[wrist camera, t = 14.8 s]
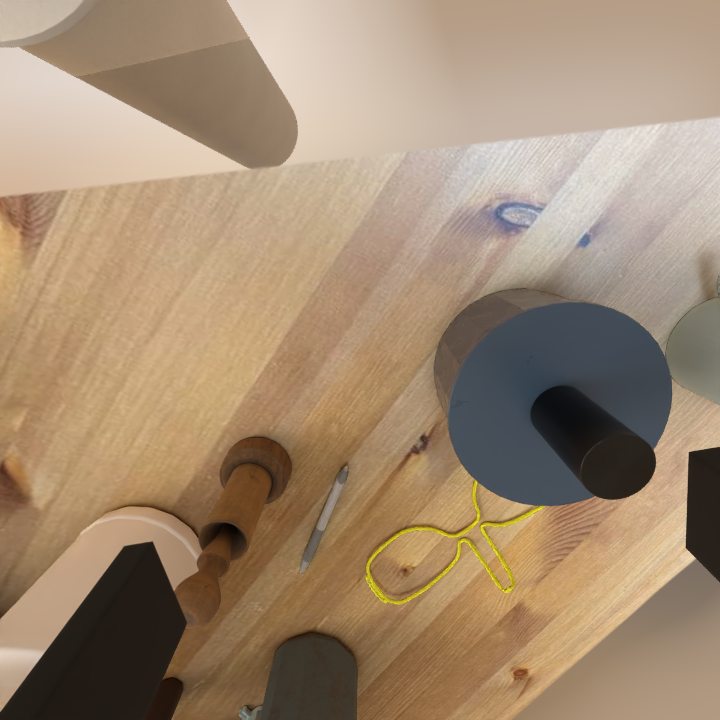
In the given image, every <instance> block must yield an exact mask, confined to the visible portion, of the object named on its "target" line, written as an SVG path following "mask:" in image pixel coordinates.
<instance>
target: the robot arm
mask: <svg viewBox="0 0 720 720" xmlns="http://www.w3.org/2000/svg"><path fill="white" fill-rule="evenodd" d="M686 549H687V550H688V551H689V552H690V553H691V554H692V555H693V556H694V557H695V558H696V559H697V560H698V561H699V562H700V563H702V565H703V566H704V567H705V568H706V569H707V570H708V571H709V572H710V573H711V574H712V575H713V576H714V577H715V578H716V579H717V580H718V581H719V582H720V447H716V448H710V449H704V450H698V451H692V452H689V463H688V494H687V525H686ZM186 625H187V621H186V618H185V616H184V614H183V611H182V609H181V607H180V604H179V602H178V600H177V597H176V595H175V593H174V590H173V588H172V585H171V583H170V581H169V578H168V576H167V574H166V571H165V569H164V567H163V564H162V562H161V560H160V557H159V555H158V553H157V550H156V548H155V545H154V543H153V541H151V542H145V543H139V544H133V545H127V546H124V547H123V548H122V550H121V551H120V552H119V554H118V555H117V556H116V558H115V559H114V560H113V562H112V563H111V564H110V566H109V567H108V568H107V570H106V571H105V572H104V574H103V575H102V576H101V578H100V579H99V580H98V582H97V583H96V584H95V586H94V587H93V588H92V590H91V591H90V592H89V594H88V595H87V596H86V598H85V599H84V600H83V602H82V603H81V604H80V606H79V607H78V608H77V610H76V611H75V613H74V614H73V615H72V617H71V618H70V619H69V621H68V622H67V623H66V625H65V626H64V627H63V629H62V630H61V631H60V633H59V634H58V635H57V637H56V638H55V639H54V641H53V642H52V643H51V645H50V646H49V647H48V649H47V650H46V651H45V653H44V654H43V655H42V657H41V658H40V659H39V661H38V662H37V663H36V665H35V666H34V667H33V669H32V670H31V671H30V673H29V674H28V675H27V677H26V678H25V679H24V681H23V682H22V683H21V685H20V686H19V688H18V689H17V690H16V692H15V693H14V694H13V696H12V697H11V698H10V700H9V701H8V702H7V704H6V705H5V706H4V708H3V709H2V710H1V712H0V720H145V718H146V715H147V713H148V711H149V709H150V706H151V704H152V702H153V700H154V697H155V695H156V693H157V691H158V688H159V686H160V684H161V682H162V679H163V677H164V675H165V673H166V670H167V668H168V666H169V664H170V661H171V659H172V657H173V655H174V652H175V650H176V648H177V645H178V643H179V641H180V639H181V636H182V634H183V632H184V630H185V627H186Z"/></svg>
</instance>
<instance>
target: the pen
mask: <svg viewBox="0 0 720 720" xmlns="http://www.w3.org/2000/svg"><path fill="white" fill-rule="evenodd" d="M347 476H348V467H347V466H345V467H344V469H342V470H341V471H340V472H339V474H338V476H337V478H336V480H335V483H334V485H333V488H332V491H331V493H330V495H329V498H328V500H327V502H326V505H325V507H324V509H323V512H322V514H321V517H320V519H319V521H318V523H317V525H316V527H315V530H314V532H313V534H312V537H311V539H310V541H309V544H308V546H307V548H306V551H305V553H304V555H303V558H302V561H301V565H300V573H303V572H304V571H305V570H306V569H307V567H308V566H309V564H310V562H311V560H312V558H313V556H314V554H315V551H316V549H317V547H318V544H319V542H320V540H321V538H322V535H323V533H324V531H325V528H326V525H327V523H328V520H329V518H330V516H331V514H332V511H333V509H334V507H335V504H336V502H337V500H338V498H339V495H340V493H341V491H342V488H343V486H344V484H345V481H346V479H347Z"/></svg>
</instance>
